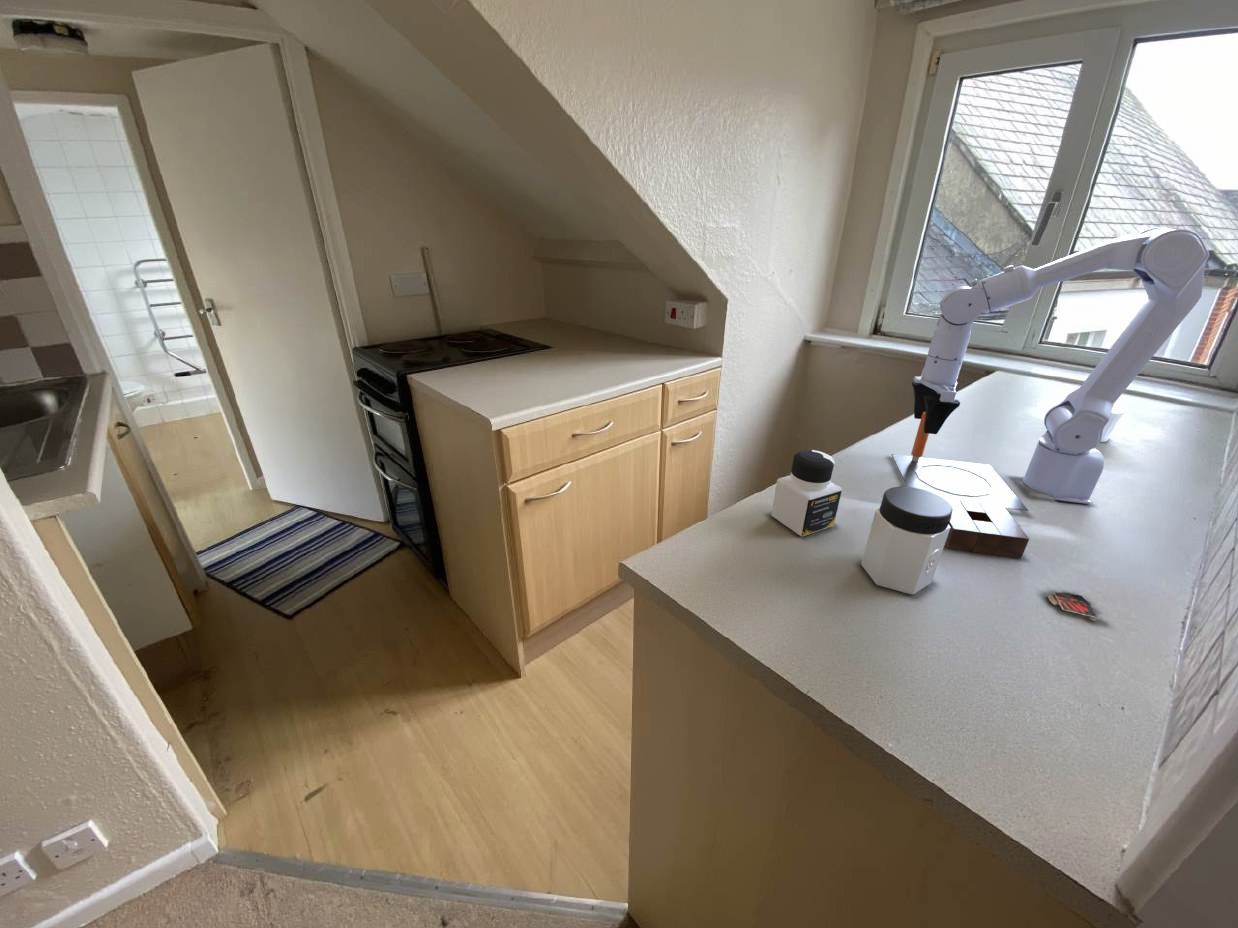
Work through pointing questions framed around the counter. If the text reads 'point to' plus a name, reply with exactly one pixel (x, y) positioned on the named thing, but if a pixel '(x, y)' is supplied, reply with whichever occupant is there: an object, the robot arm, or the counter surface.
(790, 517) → the medicine bottle
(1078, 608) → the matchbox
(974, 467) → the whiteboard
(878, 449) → the counter surface
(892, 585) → the jar
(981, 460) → the counter surface
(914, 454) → the marker
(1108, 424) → the shot glass
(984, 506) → the pen stand
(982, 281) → the robot arm
